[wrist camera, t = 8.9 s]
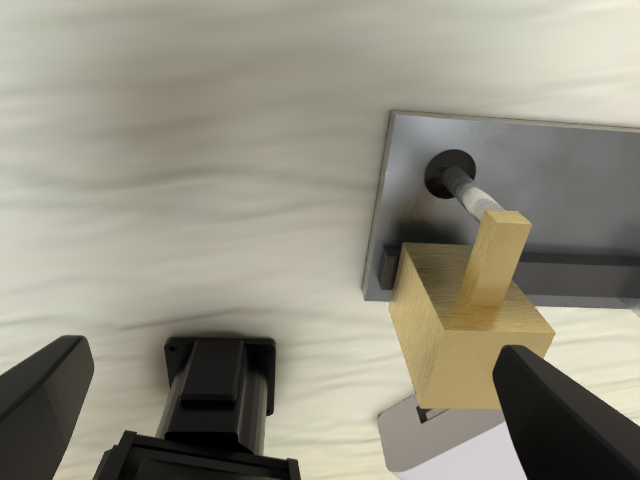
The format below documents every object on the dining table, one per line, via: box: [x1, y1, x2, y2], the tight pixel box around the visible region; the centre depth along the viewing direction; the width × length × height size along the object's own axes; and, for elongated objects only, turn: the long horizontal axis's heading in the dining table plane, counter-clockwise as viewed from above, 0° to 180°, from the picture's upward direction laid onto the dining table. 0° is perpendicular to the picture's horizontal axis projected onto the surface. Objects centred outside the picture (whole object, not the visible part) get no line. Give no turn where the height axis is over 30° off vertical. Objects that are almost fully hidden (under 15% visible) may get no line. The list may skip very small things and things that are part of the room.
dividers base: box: [362, 110, 640, 317], centre depth 20 cm, size 10×20×4 cm, turn 85°
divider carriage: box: [389, 166, 555, 409], centre depth 17 cm, size 8×4×7 cm, turn 175°
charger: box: [378, 394, 527, 480], centre depth 28 cm, size 5×9×15 cm
